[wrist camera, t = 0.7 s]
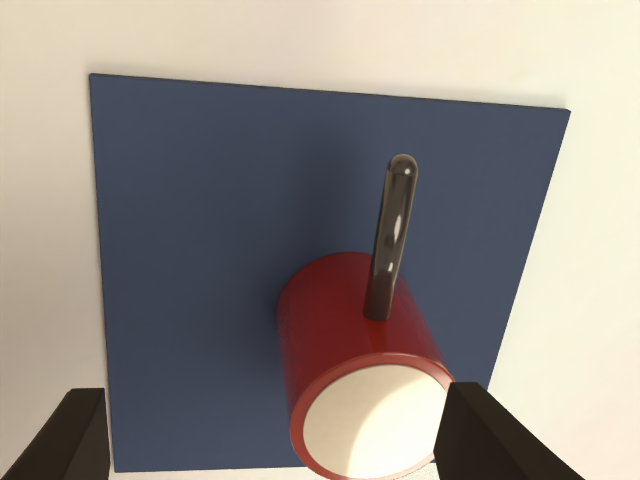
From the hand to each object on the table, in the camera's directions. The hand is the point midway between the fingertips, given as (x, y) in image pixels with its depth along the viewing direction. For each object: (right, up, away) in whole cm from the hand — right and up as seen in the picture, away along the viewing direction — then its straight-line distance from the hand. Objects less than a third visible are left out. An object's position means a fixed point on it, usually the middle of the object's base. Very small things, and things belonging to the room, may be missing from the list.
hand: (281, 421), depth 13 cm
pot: (+2, +3, +10) cm, 11 cm away
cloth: (+1, +1, +11) cm, 11 cm away
